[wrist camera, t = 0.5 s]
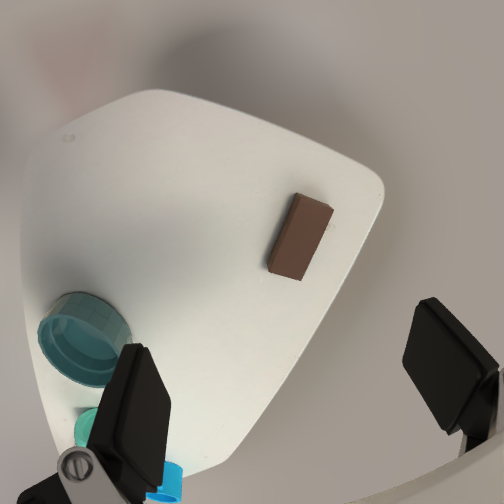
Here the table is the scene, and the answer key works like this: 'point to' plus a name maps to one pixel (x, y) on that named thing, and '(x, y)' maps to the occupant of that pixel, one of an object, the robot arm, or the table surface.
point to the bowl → (83, 338)
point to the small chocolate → (299, 237)
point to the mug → (169, 485)
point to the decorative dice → (84, 427)
